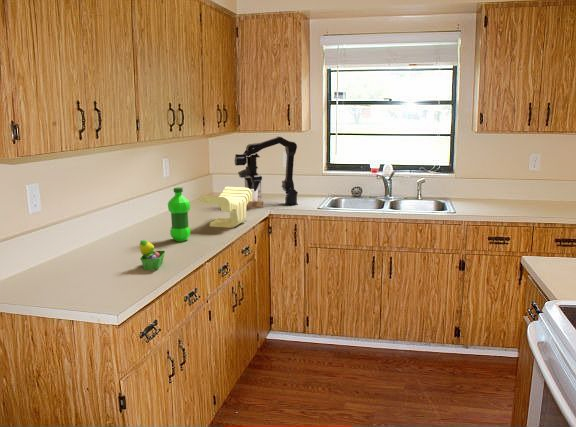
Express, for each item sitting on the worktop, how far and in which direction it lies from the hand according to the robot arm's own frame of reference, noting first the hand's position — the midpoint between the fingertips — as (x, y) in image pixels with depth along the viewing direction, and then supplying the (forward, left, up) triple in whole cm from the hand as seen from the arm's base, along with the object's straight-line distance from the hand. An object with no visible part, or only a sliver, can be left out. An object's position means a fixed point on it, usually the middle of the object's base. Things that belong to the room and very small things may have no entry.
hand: (252, 190), depth 329 cm
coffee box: (-7, -18, -11) cm, 22 cm away
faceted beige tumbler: (0, 0, -7) cm, 7 cm away
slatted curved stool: (+28, +39, -11) cm, 49 cm away
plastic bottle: (+59, +60, -11) cm, 85 cm away
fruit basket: (+79, +97, -11) cm, 126 cm away
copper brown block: (0, 0, -11) cm, 11 cm away
